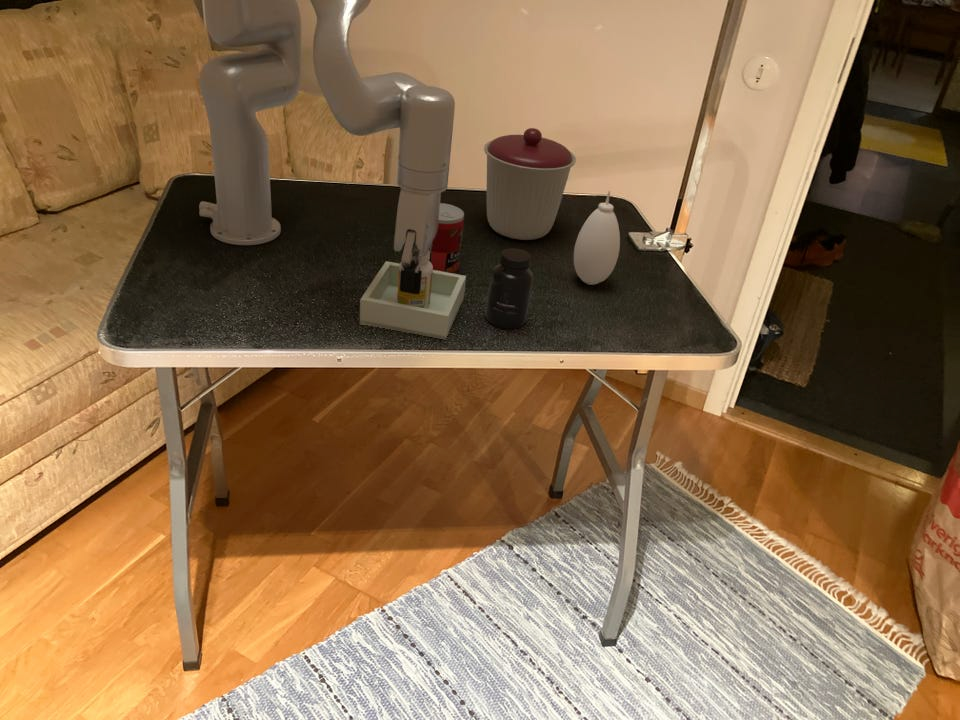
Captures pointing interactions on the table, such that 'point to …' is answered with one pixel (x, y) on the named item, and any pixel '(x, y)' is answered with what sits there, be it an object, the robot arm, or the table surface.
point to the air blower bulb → (597, 245)
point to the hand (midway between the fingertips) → (415, 281)
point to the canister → (525, 183)
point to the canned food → (448, 239)
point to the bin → (389, 314)
